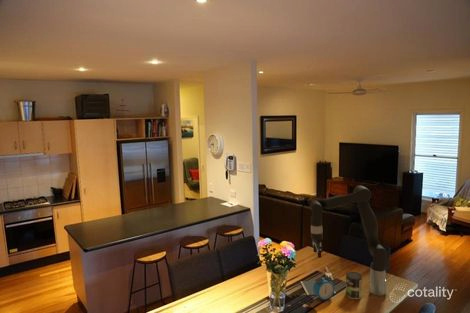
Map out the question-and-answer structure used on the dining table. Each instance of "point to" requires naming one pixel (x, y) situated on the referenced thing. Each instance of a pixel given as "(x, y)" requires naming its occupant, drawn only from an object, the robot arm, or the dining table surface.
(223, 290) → the dining table surface
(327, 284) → the alarm clock
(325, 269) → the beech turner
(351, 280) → the coffee can
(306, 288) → the mat
